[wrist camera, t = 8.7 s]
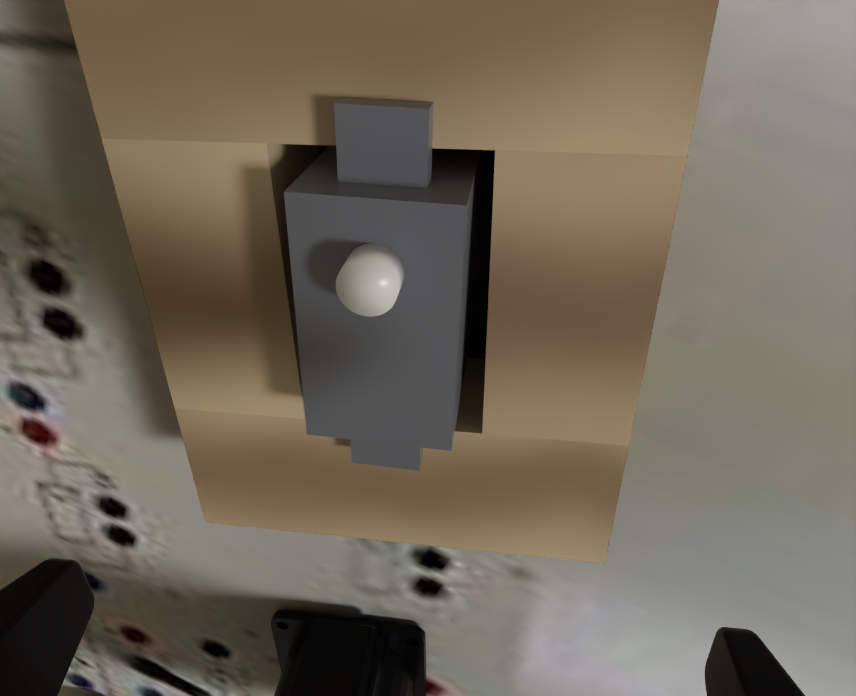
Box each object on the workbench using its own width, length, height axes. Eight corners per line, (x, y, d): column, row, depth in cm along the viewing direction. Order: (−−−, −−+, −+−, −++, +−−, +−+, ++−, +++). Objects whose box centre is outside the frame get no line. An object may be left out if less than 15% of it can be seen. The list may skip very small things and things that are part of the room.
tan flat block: (595, 478, 22) (604, 563, 19) (247, 447, 23) (205, 522, 20) (698, -116, 13) (745, -130, 10) (134, -105, 14) (33, -115, 12)
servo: (466, 381, 20) (444, 521, 15) (356, 369, 21) (301, 503, 16) (489, 71, 15) (467, 134, 11) (344, 63, 16) (259, 120, 11)
